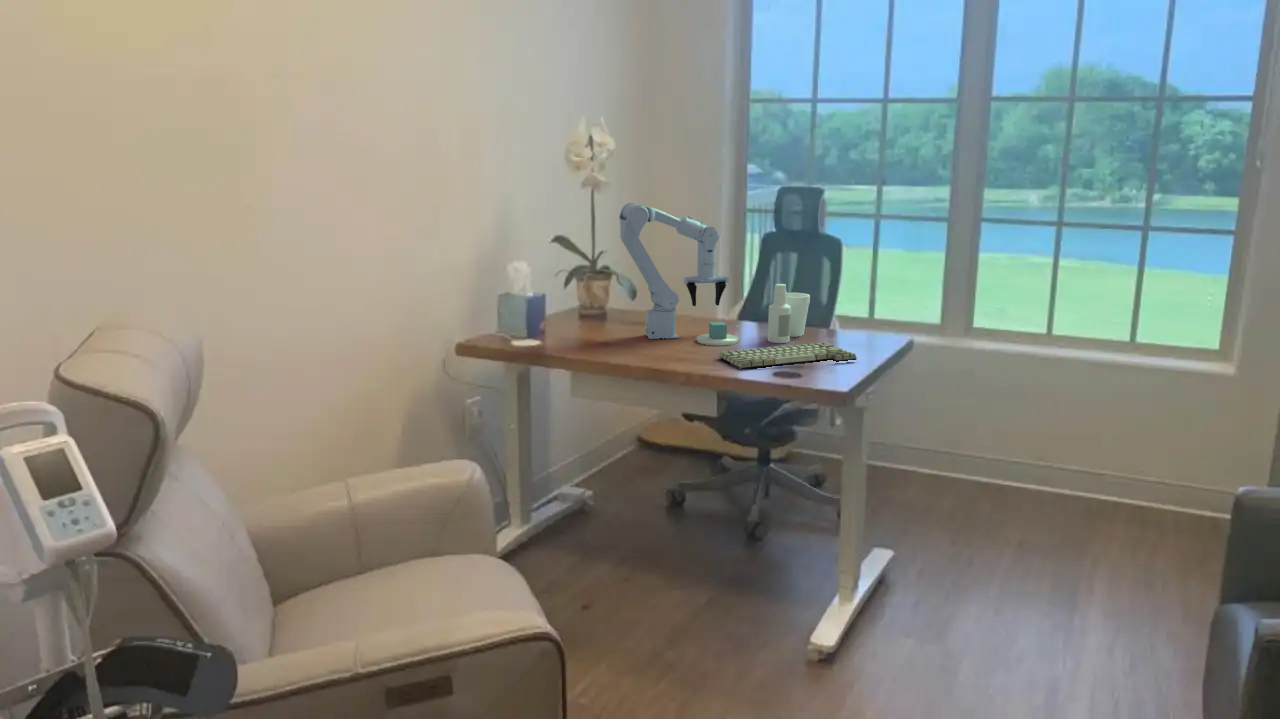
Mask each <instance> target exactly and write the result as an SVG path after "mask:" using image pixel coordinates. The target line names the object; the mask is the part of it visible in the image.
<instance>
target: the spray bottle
mask: <svg viewBox="0 0 1280 719" xmlns="http://www.w3.org/2000/svg"><path fill="white" fill-rule="evenodd" d="M786 287H787V284H785V283H776V284H775V285H774V290H773V301H772V302H773V303H772V304H769V306H768V321H767V322H768V323H767V326H768V327H767V341H768V342H769V343H772V344H786V343H789V342H790V341H791V339H790V338H791V336H790V317H791V307H790V306H789V305H788V304H787V298H786V296H787V293H788V291H787V288H786Z"/></svg>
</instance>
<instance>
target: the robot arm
mask: <svg viewBox="0 0 1280 719" xmlns="http://www.w3.org/2000/svg"><path fill="white" fill-rule="evenodd" d="M618 219H619V222H620V223H619V226H620V230H619V231H620V239H621V240H620V241H622V244H623V246H624V247H625V248H626V250H627V252H628V253H629V255H630V257H631V258H632V260H633V263H634V264H635V265H636V267H637V269H638V270H639V272H640V274H641V275H642V277H643V279H644V281H645V283H646V284H647V287H648V288H647V290H648V291H649V294H650V300H651V302H652V303H653V306H652V309H646V312H645V333H644V334H645V336H646V337H648V339H649V340H657V339H658V340H660V338H662V339H661V340H663V339H664V338H665V339H679V338H680V336H679V335H678V334H677V331H676V327H677V326H676V323H677V322H676V319H677V318H676V317H677V316H676V315H677V314H676V313H677V306H678V304H679V302H680V301H679V299H680V298H679V295H678V294H677V292H675V291H674V290H672V288H671V287H670V285H669V284H668V283H667V282H666V281H665V280H664V279H663V277H662V275H661V274H660V272H659V270H658V268H657V266H656V264H654V261H653V260H652V259H651V257H650V255H649V253H648V251H647V249H646V247H645V246H644V244H643V243H642V241H641V240H640V234H641V232H642V229H643V228H644V227H645V225H646V224H647V223H653V222H658V223H662V224H664V225H667V226H670V227H672V228H675V230H676V232H677V234H679V235H682V236H684V237H687V238H689V239H690V240H691V239H692V240H694V241H696V242H697V273H696V274H697V275H695V276H694V275H693V276H683V283H682V284H684V285H685V286H686V287H687V291H688V292H689V295H690V299H691V305H692V306H693V307H696V306H697V287H698V286H697V285H696V284H714V286H715V287H714V288H715V298H714V301H715V302H714V303H715V305H716V306H720V302H721V298H722V295H723V293H724V291H725V289H726V288H727V283H728V284H729V282H730V276H728V275H716V258H717V257H716V253H717V251H716V250H717V249H716V248H717V247H716V246H717V245H716V244H717V243H718V242H719V239H720V235H719V233H718V230H717V229H716V228H715V227H714V226H710V225H707V224H706V222H703V221H701V222H700V221H697V220H695V219H694V217H693V216H690V215H687V216H682V217H680V218H678V217H676V216H673V215H671V214H669V213H667V212H665V211H663V210H660V209H657V208H656V207H652V206H646V205H642V204H636V203H633V202H628V203H625V205H623V207H622V208H621V210H620V214H619V218H618ZM665 339H664V340H665Z"/></svg>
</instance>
